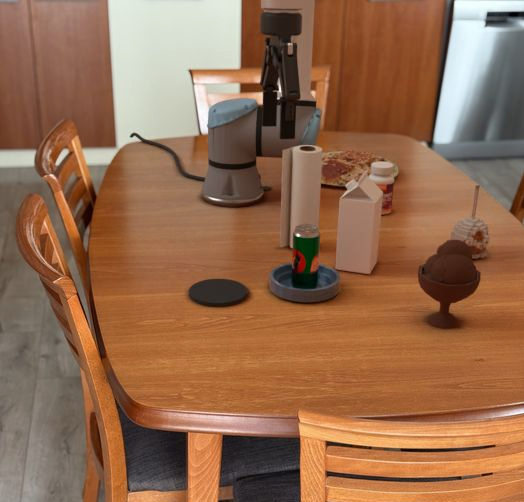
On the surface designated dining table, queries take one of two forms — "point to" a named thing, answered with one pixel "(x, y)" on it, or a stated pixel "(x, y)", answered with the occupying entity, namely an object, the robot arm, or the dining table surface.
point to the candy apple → (473, 232)
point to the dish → (285, 290)
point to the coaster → (218, 292)
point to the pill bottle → (383, 183)
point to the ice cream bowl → (449, 279)
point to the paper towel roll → (300, 189)
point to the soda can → (305, 256)
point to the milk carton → (359, 226)
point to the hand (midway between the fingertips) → (277, 132)
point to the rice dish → (348, 166)
